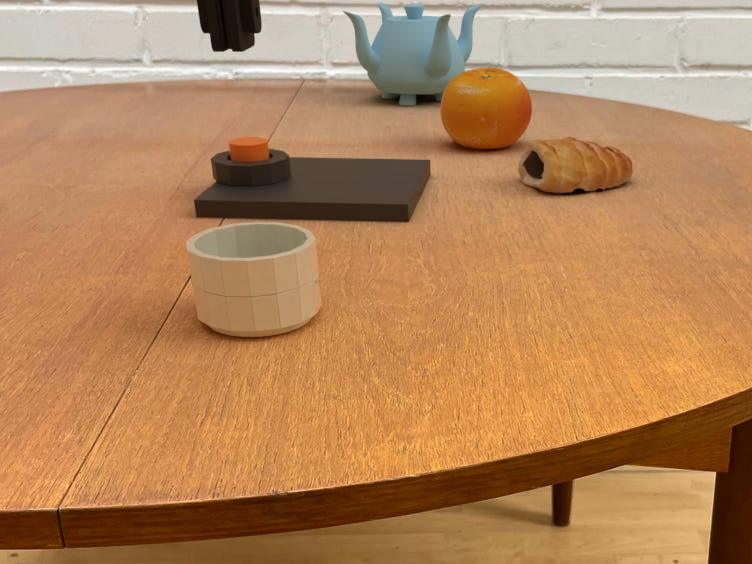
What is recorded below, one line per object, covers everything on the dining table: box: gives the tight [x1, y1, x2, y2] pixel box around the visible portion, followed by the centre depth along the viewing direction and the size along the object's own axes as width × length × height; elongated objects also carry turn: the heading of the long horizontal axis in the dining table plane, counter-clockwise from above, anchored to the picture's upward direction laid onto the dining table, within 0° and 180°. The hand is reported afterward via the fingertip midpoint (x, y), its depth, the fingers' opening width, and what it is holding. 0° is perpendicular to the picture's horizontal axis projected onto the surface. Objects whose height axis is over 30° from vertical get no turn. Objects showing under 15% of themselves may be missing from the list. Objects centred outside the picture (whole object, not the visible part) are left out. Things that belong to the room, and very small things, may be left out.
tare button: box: [228, 136, 270, 162], centre depth 76 cm, size 3×3×2 cm
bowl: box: [184, 221, 322, 338], centre depth 54 cm, size 7×7×4 cm
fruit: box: [440, 67, 533, 151], centre depth 91 cm, size 8×8×8 cm
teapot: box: [342, 2, 484, 106], centre depth 112 cm, size 13×13×10 cm
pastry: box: [517, 136, 634, 195], centre depth 80 cm, size 9×7×4 cm
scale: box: [193, 148, 431, 223], centre depth 77 cm, size 16×14×3 cm
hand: (234, 47), depth 53 cm, fingers closed
